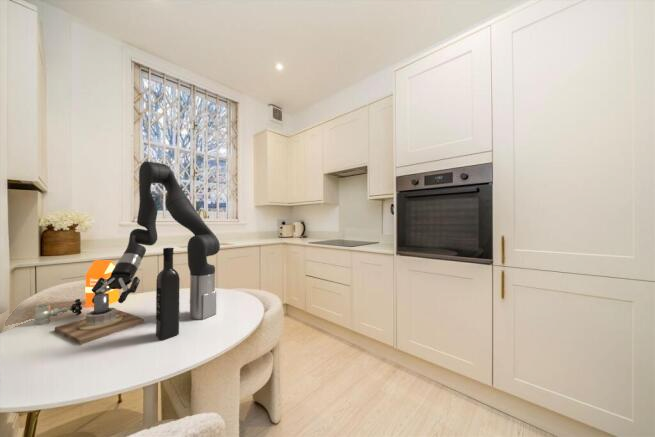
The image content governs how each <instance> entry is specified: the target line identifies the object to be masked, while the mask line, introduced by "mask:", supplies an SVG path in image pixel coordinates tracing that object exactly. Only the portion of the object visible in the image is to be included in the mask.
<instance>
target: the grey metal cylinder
mask: <svg viewBox="0 0 655 437" xmlns="http://www.w3.org/2000/svg"><path fill="white" fill-rule="evenodd" d="M109 308H110V304H109V294H107V293H106V294H99V295H95V296H94V306H93V311H94V315H99V314H104V313H108V312H109Z"/></svg>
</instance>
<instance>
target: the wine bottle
mask: <svg viewBox="0 0 655 437" xmlns="http://www.w3.org/2000/svg"><path fill="white" fill-rule="evenodd" d="M174 249H175V248H174V247H164V248H162V251H163V252H162V256H163V263H162V264H163V269H162V270H161V271H159V272H158V275H157V276H156V280H155V281H156V285H155V286H156V287H155V288H156V290H155V291H156V295H155V296H156V299H155V302H156V303H155V337H156V338H158V339H159V340H161V341H164V340H167V339H170V338H172V337H173V338H174V337H176V336H177V335H179V334H180V280H181V279H180V275H179V273H178V271H177V270H176V269H174V254H175V253H174Z"/></svg>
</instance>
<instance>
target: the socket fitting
mask: <svg viewBox="0 0 655 437" xmlns="http://www.w3.org/2000/svg"><path fill="white" fill-rule="evenodd" d="M141 324H145V318H143V317H140V316H137V315H135V314H131V313H128V312H126V311H124V310H123V311H122V310H120V309H117V308H116V307H109V312H108V313H104V314H99V315H94V310H91V311H89V312H87V313H86V314H85V318H82V319H78V320H76V321H75V320H74V321H72V322H68V323H64V324H61V325H57V326H54V332H56V333H57V334H59V335H61V336H62V337H65V338H66V339H68V340H71V341H72V342H74V343H76V344H78V345H81V346H82V345H84V344H87V343H90V342H92V341H96V340H99V339H101V338H104V337H107V336H110V335H113V334H115V333H119V332H122V331H124V330H127V329H130V328H134V327H135V326H139V325H141Z"/></svg>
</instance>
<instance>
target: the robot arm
mask: <svg viewBox="0 0 655 437" xmlns="http://www.w3.org/2000/svg"><path fill="white" fill-rule="evenodd" d="M152 184H159V185H160V184H161V185H162V186H163V187H164V188H165V190H166V198H165V203H164V204H165V207H166V209H167V210H166V211H168V213H169V214H170V216H171V218H173V220H175V221H176V223H178V224H179V225H180V226H182V227H184V228H186V229H187V230H189V232H191V233H192V234H193V236H192V237H190V239H189V240H188V242H187V249H186V250H187V266H188V269H189V318H190V319H194V320H205V319H207V318H209V317H212V316H215V315H216V314H217V291H216V267H215V265H213V264H210V263H209V262H208V257H211V256H215V255H217V254H218V253H219V251H220V249H221V244H220V241H219V239H218V237H217V236H216V234H214V232H213V231H212V230H211V229H210V228H209V227H208V225H207V224H206V223H205V221H204V220H203V219H202V217H201V216H200V214H199V213H198V212H197V210H196V209H195V207H194V205H193V203H192V201H190V199H189V198H188V197H187V195H186V194H185V192H184V190H183V189H182V187H181V186H180V184H179V182H178V180H177V178H176V176H175V173H174V172H173V170H172V168H170V166H169V165H167V164H166V163H161V162H154V161H144V162H142V163H141V165H140V166H139V171H138V191H139V205H138V212H137V219H136V220H137V221H136V223H137V225H139V226H141V227H143V228H145V229H143V228H135V229H132V230H131V232H130V233H129V237H128V238H129V239H128V244H127V247H126V249H125V251H124V252H123V254H122V255H121V257H120V258H119V259H118V262H117V263H116V264H115V268H114V269H113V271H112V273H111V276H110V277H109V278H108V279H103V278H102V277H101V278H100V279H99V280H98V281H97V283H96V284H95V286H94V287H93V288H92V290H91V291H92V292H94V293H95V295H99V294H104V293H105V292H108V291H110V290H111V289H112V290H113V289H119V290H123V291H121V294H119V299H118V301H117V302H118V303H119V304H124V302H125V301H126V300H127V298H128V295H130V294H131V293H136V291H137V289H138V286H139V284H140V282H141V279H140V278H139V277H138V276H135V275H136V273H137V271H138V269H139V267H140V265H141V262H142V260H143V258H144V257H145V254H146V251H147V249H146V247H145V246H153V245H155V244H156V243H157V241H158V232H157V226H156V225H157V224H156V222H157V216H158V212H159V211H158V205H157V202H156V201H155V198H154V197H153V194H152ZM106 282H107V283H106ZM128 285H130V286H128ZM107 286H109V288H107ZM102 290H103V291H102ZM95 295H94V296H95ZM92 303H93V304H94V297H93V299H92Z"/></svg>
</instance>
